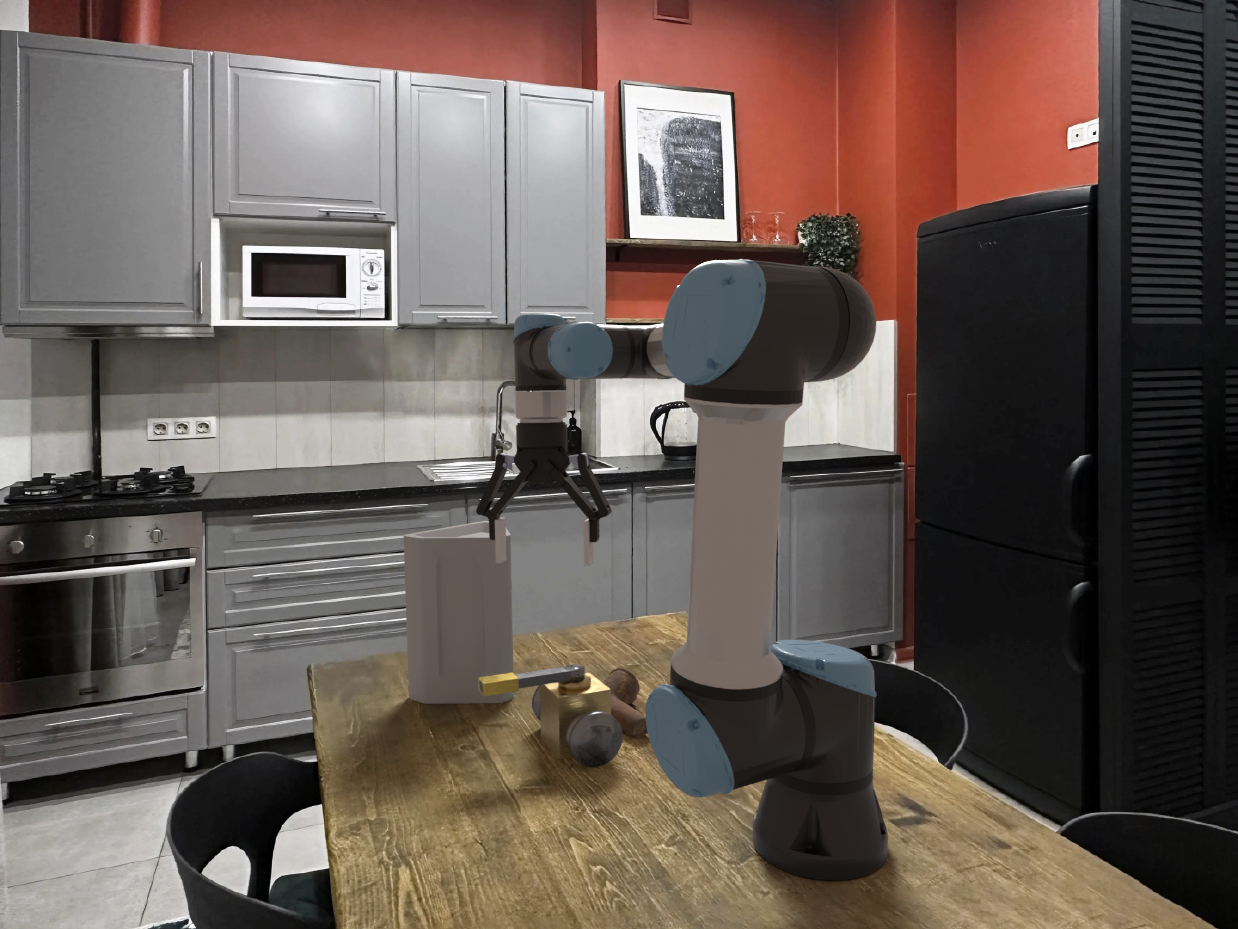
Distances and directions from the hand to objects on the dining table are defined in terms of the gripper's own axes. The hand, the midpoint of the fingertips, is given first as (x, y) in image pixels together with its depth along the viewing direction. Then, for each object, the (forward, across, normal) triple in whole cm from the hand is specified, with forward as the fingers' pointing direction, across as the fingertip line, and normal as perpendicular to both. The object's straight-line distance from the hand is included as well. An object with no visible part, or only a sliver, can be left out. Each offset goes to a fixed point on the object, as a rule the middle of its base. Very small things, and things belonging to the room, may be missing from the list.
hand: (544, 563), depth 129 cm
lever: (+16, 0, +7) cm, 18 cm away
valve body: (+26, -5, +3) cm, 27 cm away
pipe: (+27, -10, -8) cm, 30 cm away
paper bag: (+26, +17, -16) cm, 35 cm away
